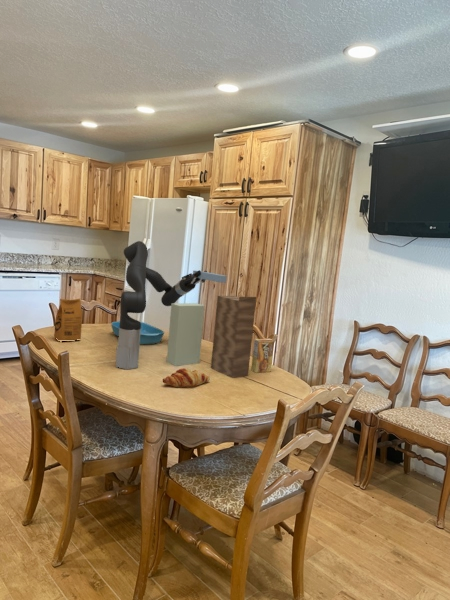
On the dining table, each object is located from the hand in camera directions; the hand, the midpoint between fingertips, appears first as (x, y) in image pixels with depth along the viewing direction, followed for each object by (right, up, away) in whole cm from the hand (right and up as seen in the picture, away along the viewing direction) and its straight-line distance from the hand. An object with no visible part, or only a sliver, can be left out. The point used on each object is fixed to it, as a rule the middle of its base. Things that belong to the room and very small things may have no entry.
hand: (203, 272), depth 208 cm
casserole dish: (-40, -36, +33) cm, 63 cm away
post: (+13, -46, -14) cm, 50 cm away
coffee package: (-72, -35, +14) cm, 81 cm away
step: (-9, -43, -6) cm, 45 cm away
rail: (+3, -4, -4) cm, 6 cm away
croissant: (-5, -48, -37) cm, 61 cm away
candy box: (+28, -47, -8) cm, 55 cm away
